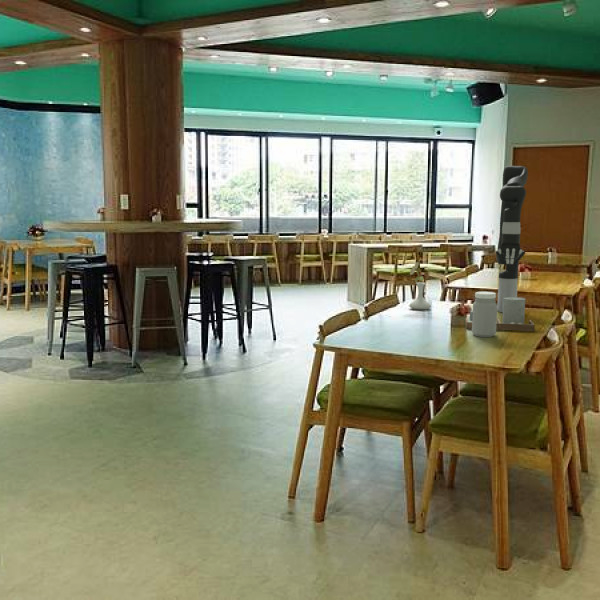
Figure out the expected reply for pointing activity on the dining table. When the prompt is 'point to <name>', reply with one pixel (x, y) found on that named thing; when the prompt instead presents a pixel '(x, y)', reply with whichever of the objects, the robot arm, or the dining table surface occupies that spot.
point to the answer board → (508, 326)
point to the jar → (484, 314)
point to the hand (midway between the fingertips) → (509, 272)
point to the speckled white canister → (513, 310)
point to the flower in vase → (419, 293)
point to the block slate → (471, 314)
